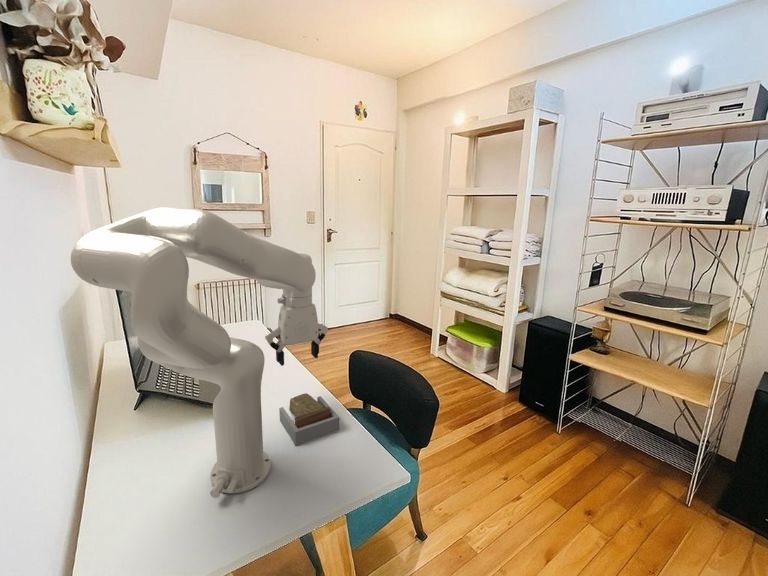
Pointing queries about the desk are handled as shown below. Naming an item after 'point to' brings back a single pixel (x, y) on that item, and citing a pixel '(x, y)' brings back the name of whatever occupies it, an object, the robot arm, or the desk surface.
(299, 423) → the wooden board
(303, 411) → the stone block
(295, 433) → the grey open square tray
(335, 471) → the desk surface
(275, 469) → the desk surface
